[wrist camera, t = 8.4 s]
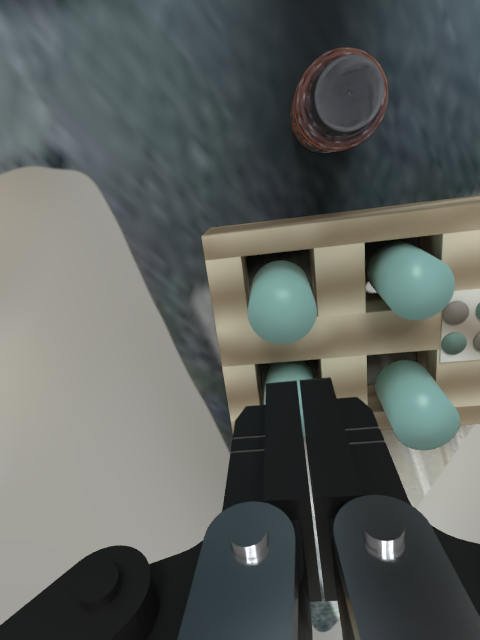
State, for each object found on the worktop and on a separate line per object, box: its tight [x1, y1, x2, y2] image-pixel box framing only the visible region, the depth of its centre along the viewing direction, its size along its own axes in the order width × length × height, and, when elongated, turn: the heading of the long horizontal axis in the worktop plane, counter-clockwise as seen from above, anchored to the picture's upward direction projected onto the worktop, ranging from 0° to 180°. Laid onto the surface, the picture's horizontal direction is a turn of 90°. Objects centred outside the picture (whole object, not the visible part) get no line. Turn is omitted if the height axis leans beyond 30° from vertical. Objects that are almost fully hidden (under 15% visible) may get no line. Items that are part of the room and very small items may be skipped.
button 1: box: [264, 361, 314, 438], centre depth 36 cm, size 5×5×6 cm
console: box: [201, 195, 480, 432], centre depth 37 cm, size 20×24×5 cm
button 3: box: [375, 360, 460, 450], centre depth 33 cm, size 5×5×6 cm
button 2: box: [248, 260, 317, 344], centre depth 31 cm, size 5×5×6 cm
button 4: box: [367, 241, 455, 320], centre depth 32 cm, size 5×5×6 cm
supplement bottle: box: [290, 47, 388, 153], centre depth 28 cm, size 6×6×11 cm
